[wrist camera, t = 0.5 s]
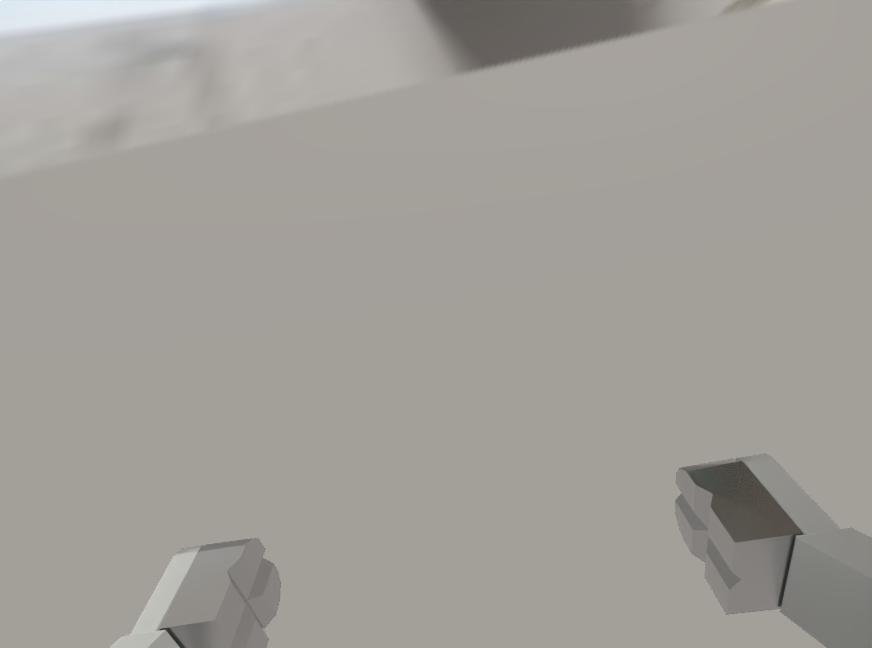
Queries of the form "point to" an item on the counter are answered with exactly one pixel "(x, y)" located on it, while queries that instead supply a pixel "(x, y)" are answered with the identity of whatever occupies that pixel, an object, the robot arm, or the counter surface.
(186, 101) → the counter surface
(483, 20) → the counter surface
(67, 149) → the counter surface
